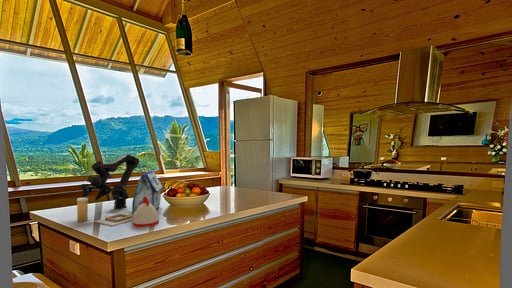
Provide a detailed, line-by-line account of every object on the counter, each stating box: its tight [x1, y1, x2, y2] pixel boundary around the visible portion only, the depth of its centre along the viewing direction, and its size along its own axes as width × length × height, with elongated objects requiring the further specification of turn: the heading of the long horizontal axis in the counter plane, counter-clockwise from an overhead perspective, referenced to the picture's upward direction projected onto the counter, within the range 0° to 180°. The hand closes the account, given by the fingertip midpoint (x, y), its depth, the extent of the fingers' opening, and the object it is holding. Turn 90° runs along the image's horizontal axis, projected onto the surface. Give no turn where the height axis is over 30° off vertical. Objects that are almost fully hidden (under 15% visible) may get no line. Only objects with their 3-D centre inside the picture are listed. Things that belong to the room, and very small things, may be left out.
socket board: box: [94, 213, 133, 227], centre depth 168 cm, size 20×16×2 cm
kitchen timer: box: [132, 197, 160, 228], centre depth 162 cm, size 14×14×15 cm
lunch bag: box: [131, 170, 164, 215], centre depth 192 cm, size 22×17×26 cm
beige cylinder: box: [76, 197, 89, 223], centre depth 167 cm, size 6×6×13 cm
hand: (88, 199), depth 171 cm, fingers open, 9 cm apart
